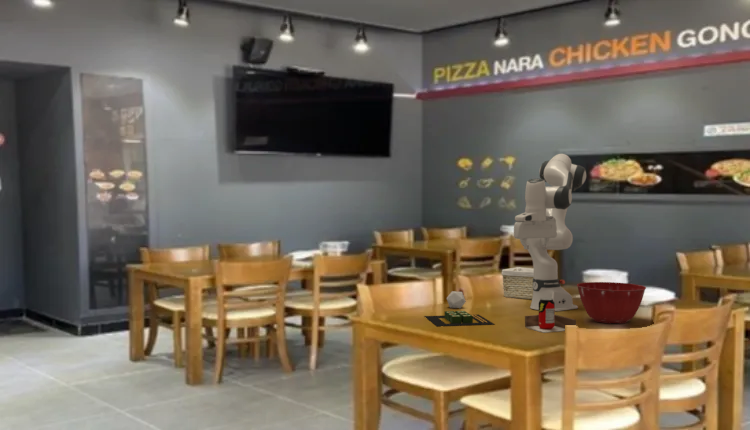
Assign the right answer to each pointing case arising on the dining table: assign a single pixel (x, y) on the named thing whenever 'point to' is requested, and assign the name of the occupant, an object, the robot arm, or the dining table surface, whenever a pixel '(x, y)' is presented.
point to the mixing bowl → (611, 300)
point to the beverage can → (546, 313)
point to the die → (456, 299)
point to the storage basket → (518, 282)
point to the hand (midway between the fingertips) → (535, 248)
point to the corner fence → (559, 325)
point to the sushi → (458, 319)
